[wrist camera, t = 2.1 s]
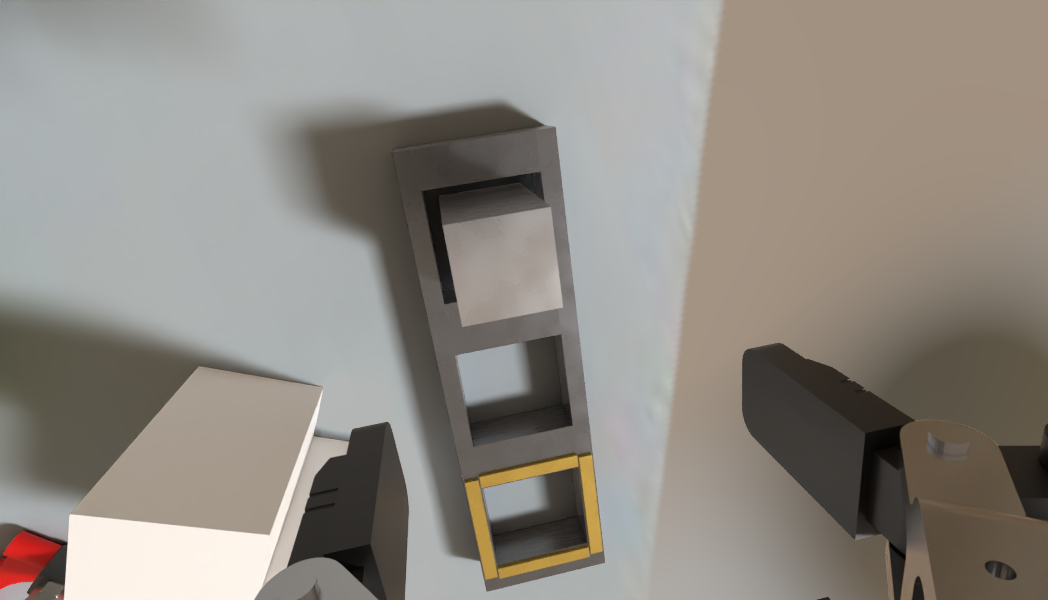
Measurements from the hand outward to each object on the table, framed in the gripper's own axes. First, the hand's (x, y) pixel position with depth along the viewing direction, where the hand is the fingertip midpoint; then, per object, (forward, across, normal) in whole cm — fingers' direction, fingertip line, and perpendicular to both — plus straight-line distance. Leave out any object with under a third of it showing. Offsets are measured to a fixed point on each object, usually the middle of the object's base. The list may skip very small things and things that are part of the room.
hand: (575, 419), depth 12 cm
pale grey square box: (+20, 0, 0) cm, 20 cm away
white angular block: (+20, +14, +12) cm, 27 cm away
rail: (+20, 0, +9) cm, 22 cm away
